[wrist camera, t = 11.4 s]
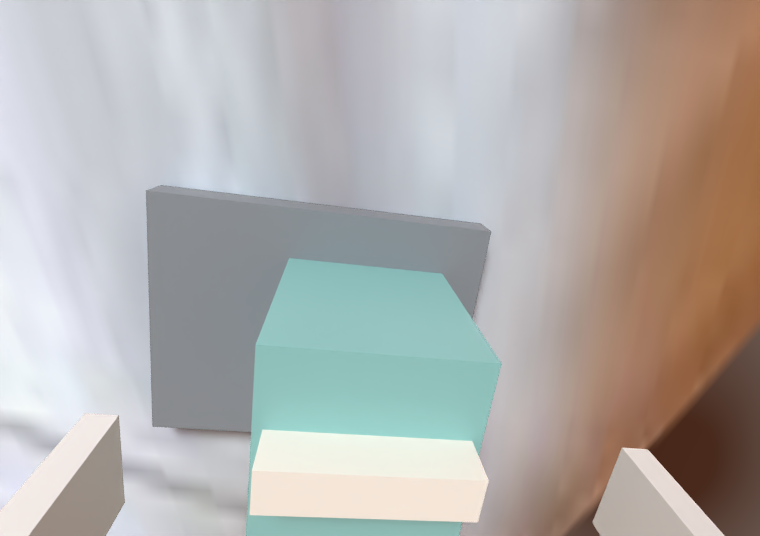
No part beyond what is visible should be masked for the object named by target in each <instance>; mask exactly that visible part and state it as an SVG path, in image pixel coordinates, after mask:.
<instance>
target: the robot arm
mask: <svg viewBox="0 0 760 536" xmlns="http://www.w3.org/2000/svg"><path fill="white" fill-rule="evenodd" d="M124 503H125V499H124V484H123V470H122V455H121V441H120V426H119V415H105V414H89V413H85V414H84V415H83V416H82V417H81V418H80V420H79V421H78V422H77V423H76V424H75V425H74V426H73V428H72V429H71V430H70V431H69V432H68V433H67V435H66V436H65V437H64V438H63V439H62V440H61V441H60V443H59V444H58V445H57V446H56V447H55V448H54V450H53V451H52V452H51V453H50V454H49V455H48V456H47V458H46V459H45V460H44V461H43V462H42V463H41V464H40V466H39V467H38V468H37V469H36V470H35V471H34V473H33V474H32V475H31V476H30V477H29V478H28V479H27V481H26V482H25V483H24V484H23V485H22V486H21V488H20V489H19V490H18V491H17V492H16V493H15V494H14V496H13V497H12V498H11V499H10V500H9V501H8V502H7V504H6V505H5V506H4V507H3V508H2V509H1V511H0V536H106V534H107V533H108V531H109V529H110V527H111V526H112V524H113V522H114V520H115V519H116V517H117V515H118V513H119V512H120V510H121V508H122V506H123V505H124ZM593 524H594V526H595V528H596V529H597V531H598V532H599V534H600V536H724V535H723V533H722V532H721V531H720V530H719V529H718V528H717V527H716V526H715V525H714V524H713V522H712V521H711V520H710V519H709V518H708V517H707V516H706V515H705V514H704V512H703V511H702V510H701V509H700V508H699V507H698V506H697V504H696V503H695V502H694V501H693V500H692V499H691V498H690V497H689V495H688V494H687V493H686V492H685V491H684V490H683V489H682V487H681V486H680V485H679V484H678V483H677V482H676V481H675V480H674V478H673V477H672V476H671V475H670V474H669V473H668V472H667V471H666V470H665V468H664V467H663V466H662V465H661V464H660V463H659V462H658V460H657V459H656V458H655V457H654V456H653V455H652V454H651V453H650V451H649V450H648V449H633V448H622V449H621V452H620V454H619V457H618V459H617V462H616V464H615V467H614V470H613V472H612V475H611V477H610V480H609V482H608V485H607V487H606V490H605V492H604V495H603V497H602V500H601V502H600V505H599V507H598V510H597V513H596V515H595V518H594V520H593Z"/></svg>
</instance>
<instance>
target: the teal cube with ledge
mask: <svg viewBox="0 0 760 536" xmlns="http://www.w3.org/2000/svg"><path fill="white" fill-rule="evenodd" d="M500 368H501V362H500V360H499V359H498V357H497V356H496V354H495V353H494V351H493V350H492V348H491V347H490V345H489V344H488V342H487V341H486V339H485V338H484V336H483V335H482V333H481V332H480V330H479V329H478V327H477V326H476V324H475V323H474V321H473V319H472V318H471V316H470V315H469V313H468V312H467V310H466V309H465V307H464V306H463V304H462V303H461V301H460V300H459V298H458V297H457V295H456V294H455V292H454V291H453V289H452V288H451V286H450V285H449V283H448V282H447V280H446V279H445V277H444V275H443V274H441V273H431V272H422V271H412V270H402V269H392V268H382V267H372V266H362V265H352V264H342V263H333V262H323V261H313V260H303V259H293V258H289V260H288V262H287V265H286V267H285V270H284V273H283V275H282V278H281V280H280V283H279V285H278V288H277V291H276V293H275V296H274V298H273V301H272V303H271V306H270V309H269V311H268V314H267V316H266V319H265V322H264V324H263V327H262V329H261V332H260V334H259V337H258V340H257V342H256V346H255V365H254V385H253V405H252V425H251V444H250V464H249V484H248V503H247V523H246V536H459V534H460V530H461V525H462V522H478V520H479V516H480V512H481V508H482V505H483V501H484V497H485V493H486V489H487V486H488V482H489V481H488V478H487V476H486V473H485V471H484V468H483V466H482V463H481V461H480V458H479V453H480V449H481V445H482V441H483V436H484V432H485V428H486V424H487V420H488V416H489V412H490V408H491V404H492V400H493V396H494V392H495V388H496V384H497V380H498V376H499V372H500Z"/></svg>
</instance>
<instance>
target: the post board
mask: <svg viewBox="0 0 760 536" xmlns="http://www.w3.org/2000/svg"><path fill="white" fill-rule="evenodd" d="M146 206H147V242H148V279H149V316H150V352H151V389H152V425H153V427H169V428H186V429H204V430H222V431H239V432H251V425H252V405H253V385H254V365H255V346H256V342H257V340H258V337H259V334H260V332H261V329H262V327H263V324H264V322H265V319H266V316H267V314H268V311H269V309H270V306H271V303H272V301H273V298H274V296H275V293H276V291H277V288H278V285H279V283H280V280H281V278H282V275H283V273H284V270H285V267H286V265H287V262H288V260H289V258H293V259H303V260H313V261H323V262H333V263H342V264H352V265H362V266H372V267H382V268H392V269H402V270H412V271H422V272H431V273H441V274H443V275H444V277H445V279H446V280H447V282H448V283H449V285H450V286H451V288H452V289H453V291H454V292H455V294H456V295H457V297H458V298H459V300H460V301H461V303H462V304H463V306H464V307H465V309H466V310H467V312H468V313H469V315H470V316H471V318H472V317H473V312H474V308H475V303H476V299H477V294H478V290H479V285H480V280H481V276H482V271H483V267H484V262H485V258H486V253H487V249H488V244H489V240H490V235H491V231H490V230H489V229H487V228H486V227H485V226H483V225H482V224H479V223H471V222H462V221H454V220H446V219H438V218H429V217H421V216H413V215H404V214H396V213H388V212H379V211H371V210H363V209H354V208H346V207H338V206H329V205H321V204H313V203H305V202H296V201H288V200H280V199H271V198H263V197H255V196H246V195H238V194H230V193H221V192H213V191H205V190H197V189H188V188H180V187H172V186H163V185H161V186H158V187H155V188H152V189H149V190H146Z"/></svg>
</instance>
